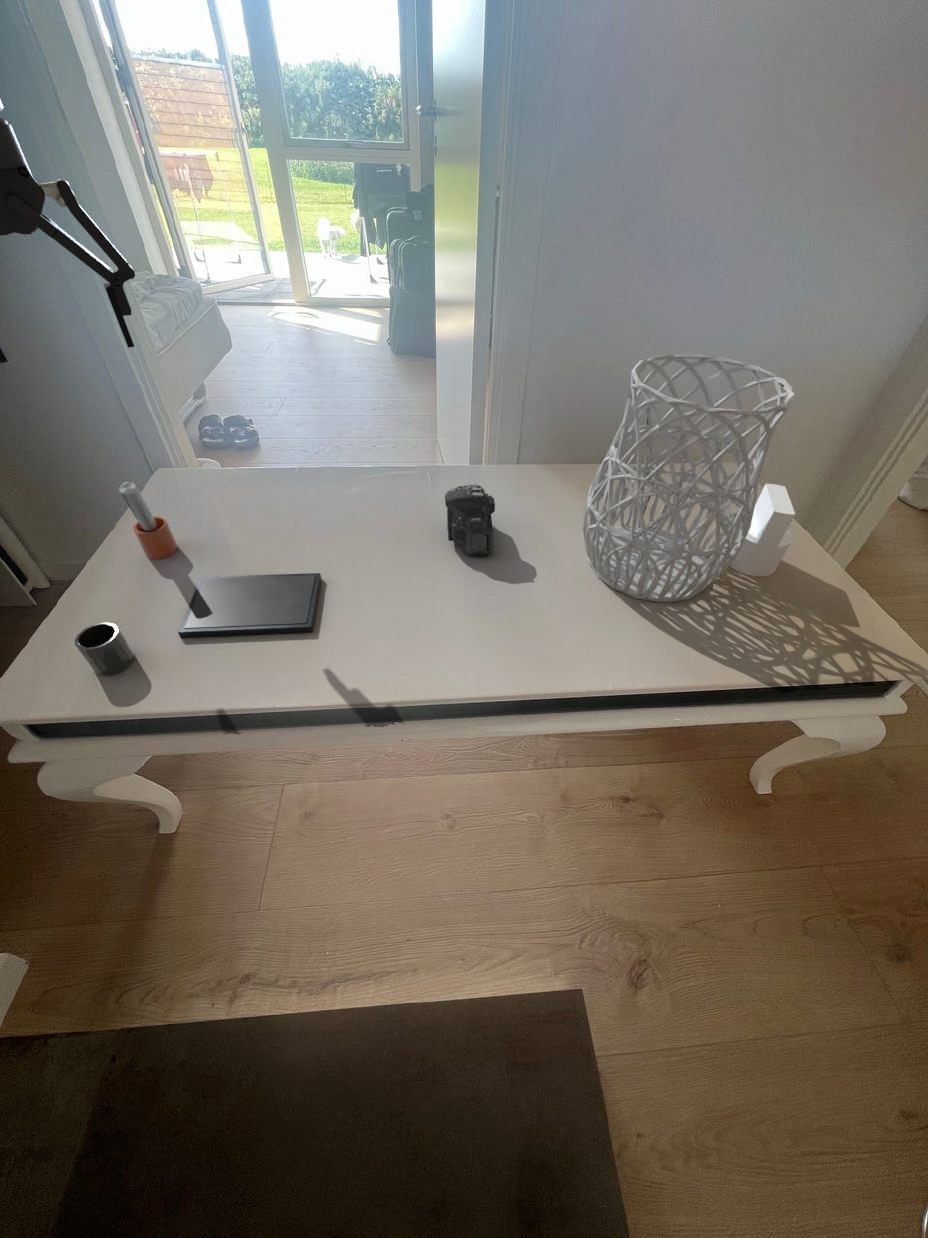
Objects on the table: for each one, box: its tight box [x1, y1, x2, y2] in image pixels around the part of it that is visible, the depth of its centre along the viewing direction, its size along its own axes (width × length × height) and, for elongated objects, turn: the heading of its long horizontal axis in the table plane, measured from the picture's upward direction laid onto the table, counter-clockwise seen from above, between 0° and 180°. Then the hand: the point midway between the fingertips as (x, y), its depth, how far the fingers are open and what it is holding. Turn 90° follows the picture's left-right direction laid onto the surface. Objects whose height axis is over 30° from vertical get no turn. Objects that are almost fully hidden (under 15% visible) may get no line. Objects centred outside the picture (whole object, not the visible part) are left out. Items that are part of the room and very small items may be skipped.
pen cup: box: [132, 516, 178, 560], centre depth 85 cm, size 5×5×5 cm
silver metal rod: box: [118, 481, 160, 532], centre depth 80 cm, size 2×2×15 cm
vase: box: [582, 353, 795, 603], centre depth 78 cm, size 24×24×30 cm
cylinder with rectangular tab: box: [728, 483, 796, 577], centre depth 85 cm, size 9×9×12 cm
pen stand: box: [74, 621, 135, 677], centre depth 67 cm, size 5×5×5 cm
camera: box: [444, 484, 496, 556], centre depth 88 cm, size 13×10×10 cm
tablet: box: [177, 572, 322, 639], centre depth 77 cm, size 18×12×1 cm, turn 95°
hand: (70, 351), depth 65 cm, fingers open, 13 cm apart
